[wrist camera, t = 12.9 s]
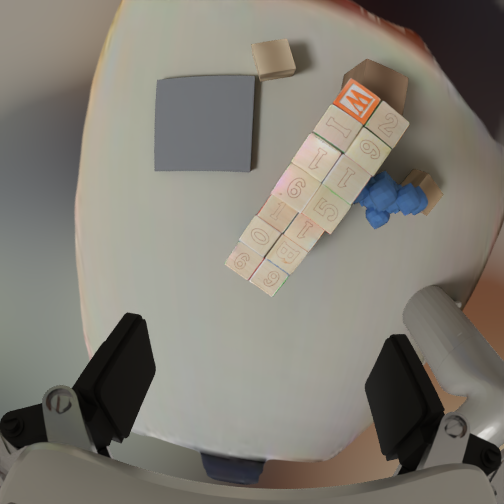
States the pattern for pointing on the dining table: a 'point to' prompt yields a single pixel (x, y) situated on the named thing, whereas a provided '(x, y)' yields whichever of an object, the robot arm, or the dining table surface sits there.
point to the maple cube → (273, 59)
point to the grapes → (389, 199)
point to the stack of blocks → (318, 186)
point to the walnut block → (380, 83)
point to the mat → (204, 123)
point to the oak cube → (425, 187)
